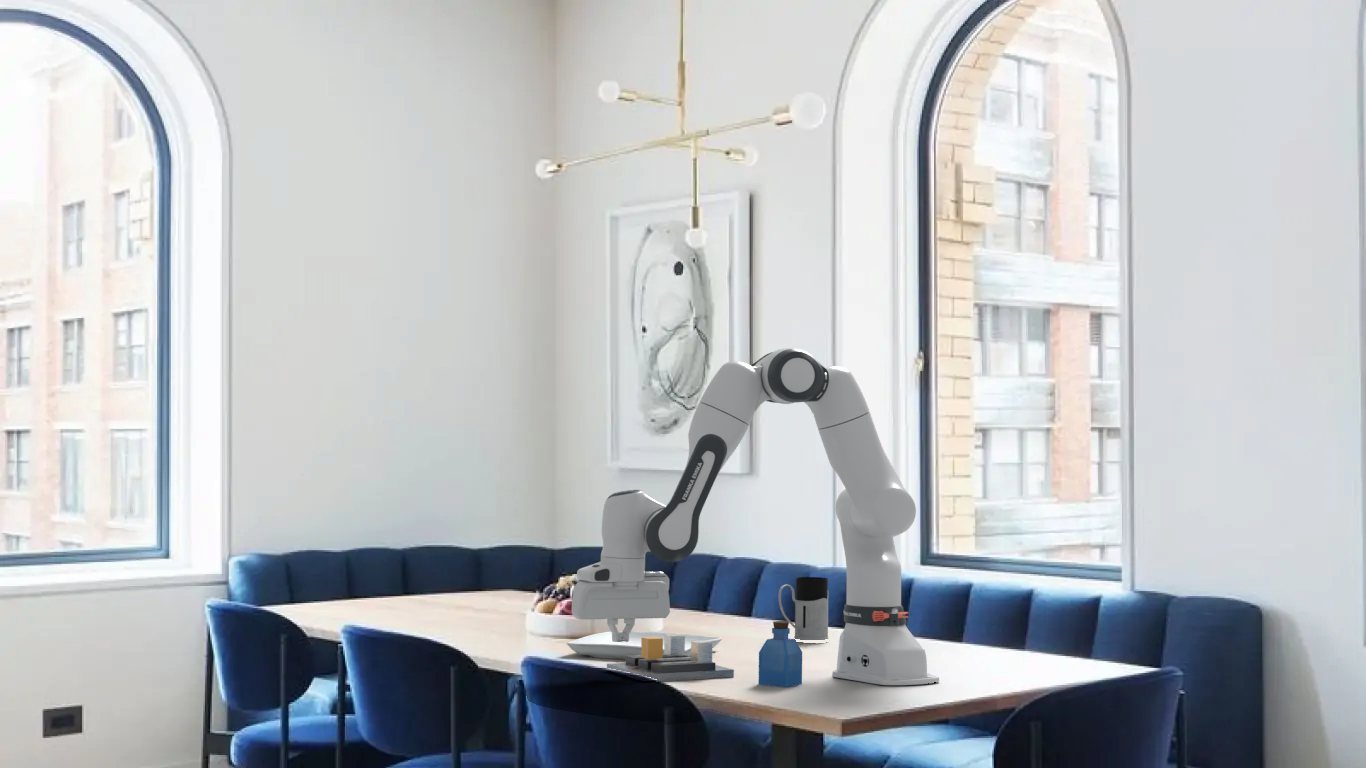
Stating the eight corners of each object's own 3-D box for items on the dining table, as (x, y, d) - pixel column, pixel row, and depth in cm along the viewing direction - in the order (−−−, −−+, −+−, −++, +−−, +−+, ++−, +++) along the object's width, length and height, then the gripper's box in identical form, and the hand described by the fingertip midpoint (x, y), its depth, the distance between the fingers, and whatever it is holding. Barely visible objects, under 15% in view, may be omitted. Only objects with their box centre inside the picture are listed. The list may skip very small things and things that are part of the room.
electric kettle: (837, 642, 397) (838, 578, 397) (789, 645, 389) (790, 580, 389) (814, 638, 404) (814, 576, 405) (767, 641, 396) (768, 578, 397)
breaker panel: (733, 677, 333) (734, 641, 333) (643, 682, 324) (643, 645, 324) (694, 666, 348) (695, 632, 348) (606, 671, 339) (607, 636, 339)
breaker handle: (662, 658, 333) (662, 638, 334) (648, 659, 332) (648, 639, 332) (655, 656, 336) (655, 636, 336) (641, 657, 335) (641, 637, 335)
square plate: (563, 659, 361) (564, 641, 361) (612, 645, 386) (612, 629, 387) (682, 666, 351) (682, 647, 352) (723, 652, 377) (723, 635, 377)
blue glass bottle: (786, 687, 320) (787, 624, 321) (758, 684, 323) (759, 622, 324) (801, 683, 325) (802, 621, 326) (773, 681, 329) (774, 619, 329)
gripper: (662, 570, 339) (660, 638, 339) (569, 570, 330) (567, 641, 329) (676, 572, 334) (674, 642, 333) (582, 573, 324) (580, 644, 324)
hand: (620, 641), depth 331 cm, fingers closed
